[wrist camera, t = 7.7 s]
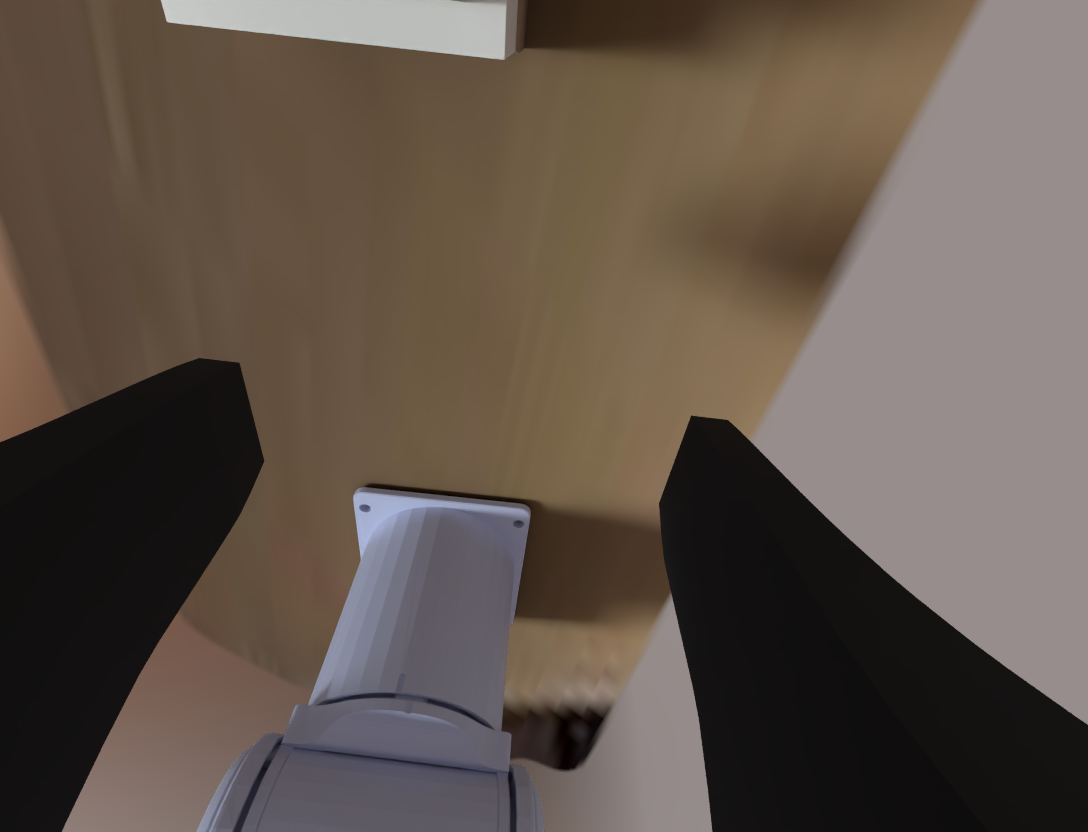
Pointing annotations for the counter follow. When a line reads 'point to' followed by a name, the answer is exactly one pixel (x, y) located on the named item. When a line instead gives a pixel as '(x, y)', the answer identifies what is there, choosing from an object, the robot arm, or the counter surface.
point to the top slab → (367, 22)
